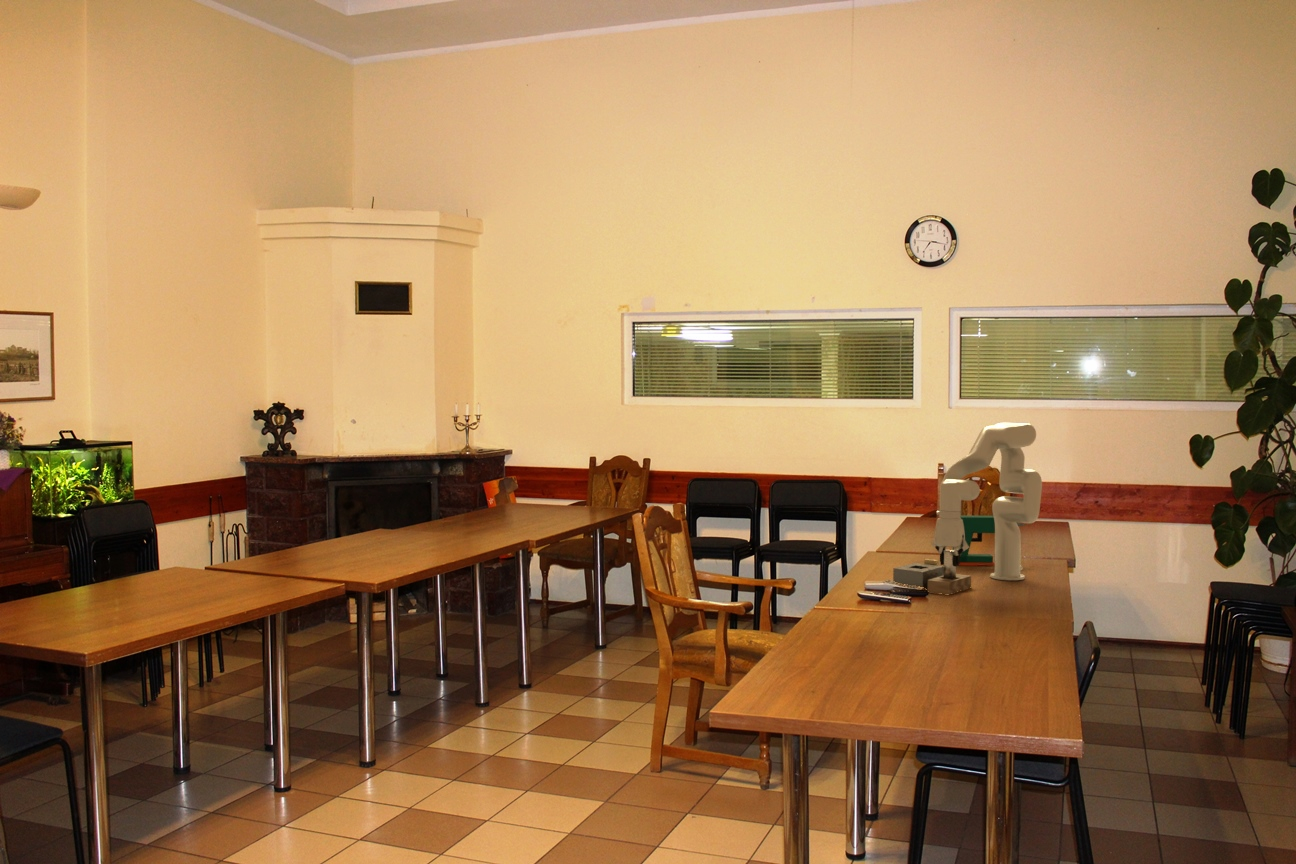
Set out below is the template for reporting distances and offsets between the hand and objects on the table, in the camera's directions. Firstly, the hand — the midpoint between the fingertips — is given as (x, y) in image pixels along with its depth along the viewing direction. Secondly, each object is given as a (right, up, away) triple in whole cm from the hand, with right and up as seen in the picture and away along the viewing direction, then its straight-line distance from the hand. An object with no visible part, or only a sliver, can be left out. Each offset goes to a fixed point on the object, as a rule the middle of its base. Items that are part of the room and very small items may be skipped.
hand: (949, 564), depth 387 cm
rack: (0, -9, 0) cm, 9 cm away
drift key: (-4, -7, +14) cm, 16 cm away
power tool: (+31, -7, +56) cm, 64 cm away
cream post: (0, -8, 0) cm, 8 cm away
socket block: (-9, -9, +9) cm, 16 cm away
